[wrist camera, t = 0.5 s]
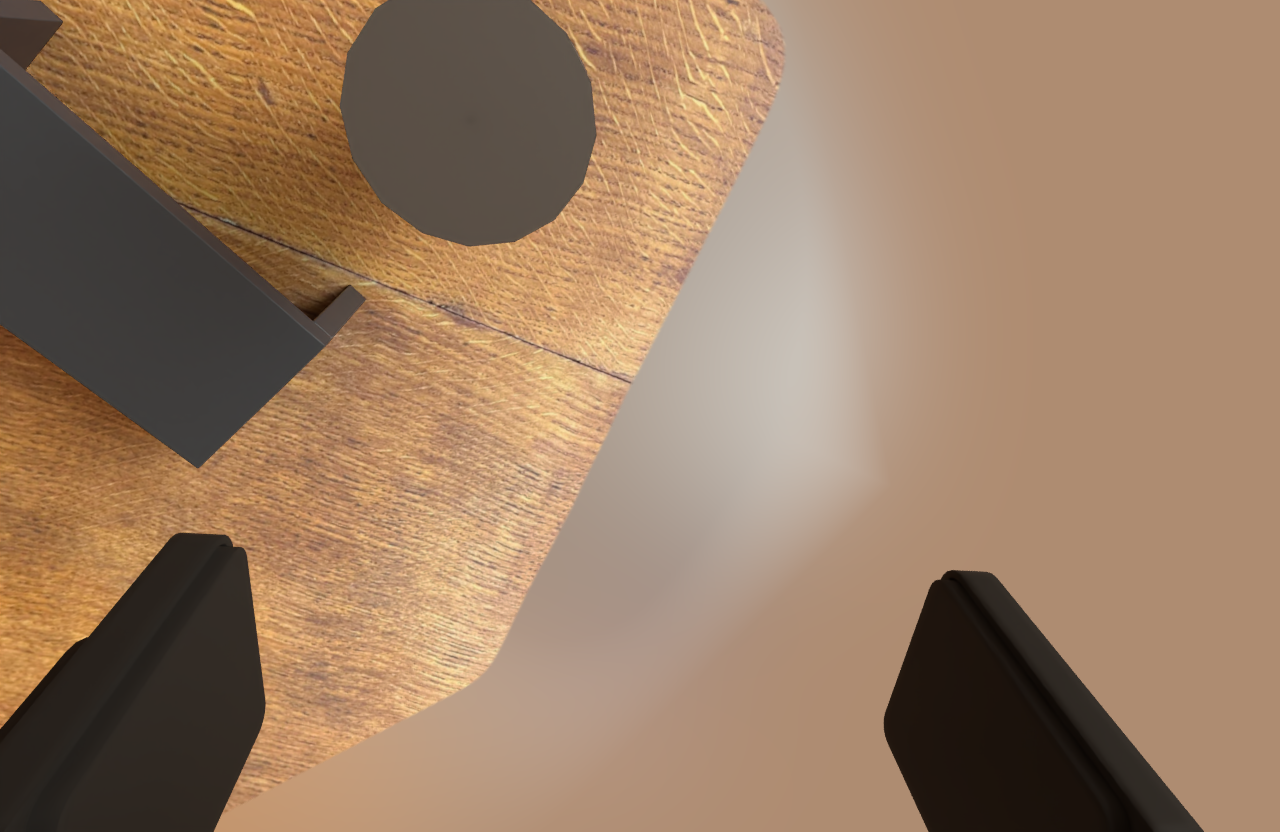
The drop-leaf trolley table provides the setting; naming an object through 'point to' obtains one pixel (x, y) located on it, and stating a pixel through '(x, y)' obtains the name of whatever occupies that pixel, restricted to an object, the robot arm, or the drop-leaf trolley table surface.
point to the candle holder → (468, 116)
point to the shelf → (132, 273)
